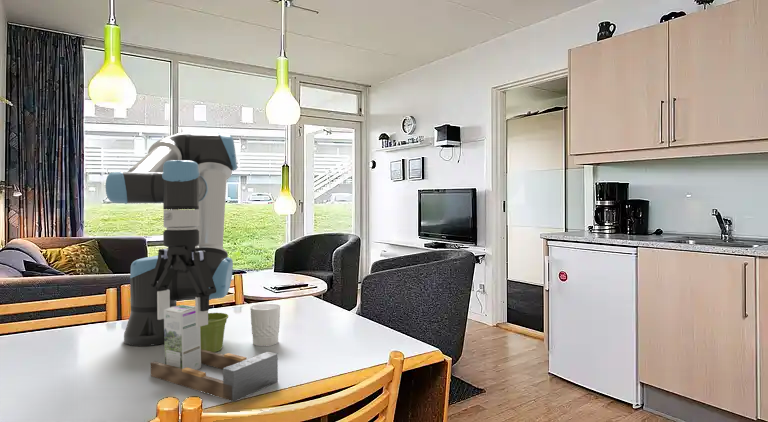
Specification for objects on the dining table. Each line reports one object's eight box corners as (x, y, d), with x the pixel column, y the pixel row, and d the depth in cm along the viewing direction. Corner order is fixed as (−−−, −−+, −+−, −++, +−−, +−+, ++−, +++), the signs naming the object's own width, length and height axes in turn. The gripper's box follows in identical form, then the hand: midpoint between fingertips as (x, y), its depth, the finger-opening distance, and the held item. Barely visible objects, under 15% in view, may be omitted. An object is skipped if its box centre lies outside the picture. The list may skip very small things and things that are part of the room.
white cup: (272, 348, 126) (272, 310, 126) (245, 346, 128) (245, 309, 127) (285, 339, 134) (284, 303, 133) (258, 338, 135) (258, 302, 135)
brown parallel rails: (150, 376, 106) (150, 360, 106) (197, 360, 116) (197, 345, 116) (231, 401, 93) (231, 383, 93) (276, 380, 103) (276, 364, 103)
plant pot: (206, 358, 118) (205, 323, 118) (182, 351, 123) (181, 318, 123) (236, 348, 126) (236, 315, 126) (212, 342, 131) (212, 311, 131)
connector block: (223, 398, 94) (223, 368, 94) (267, 378, 104) (267, 351, 104) (233, 401, 92) (233, 371, 92) (277, 381, 103) (277, 353, 103)
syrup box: (202, 368, 111) (201, 305, 111) (181, 376, 106) (181, 311, 105) (184, 364, 114) (183, 303, 113) (163, 372, 108) (162, 308, 108)
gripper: (133, 228, 112) (134, 318, 112) (204, 230, 99) (204, 332, 99) (162, 227, 119) (163, 312, 119) (232, 229, 106) (233, 325, 106)
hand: (182, 322), depth 109 cm, fingers open, 13 cm apart
